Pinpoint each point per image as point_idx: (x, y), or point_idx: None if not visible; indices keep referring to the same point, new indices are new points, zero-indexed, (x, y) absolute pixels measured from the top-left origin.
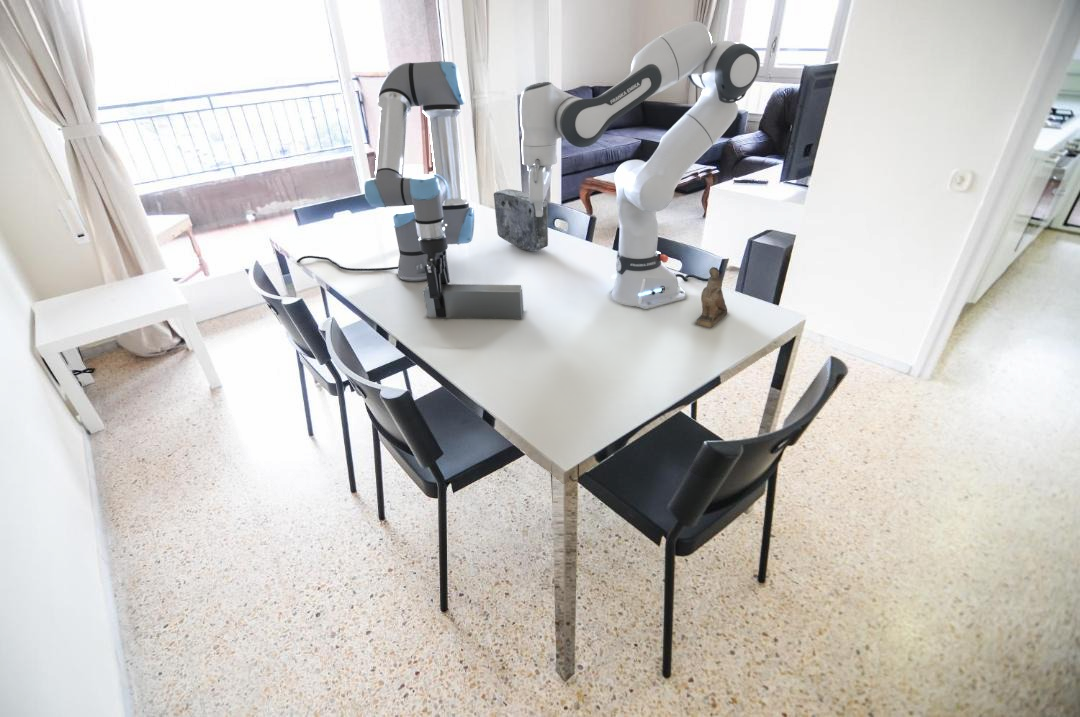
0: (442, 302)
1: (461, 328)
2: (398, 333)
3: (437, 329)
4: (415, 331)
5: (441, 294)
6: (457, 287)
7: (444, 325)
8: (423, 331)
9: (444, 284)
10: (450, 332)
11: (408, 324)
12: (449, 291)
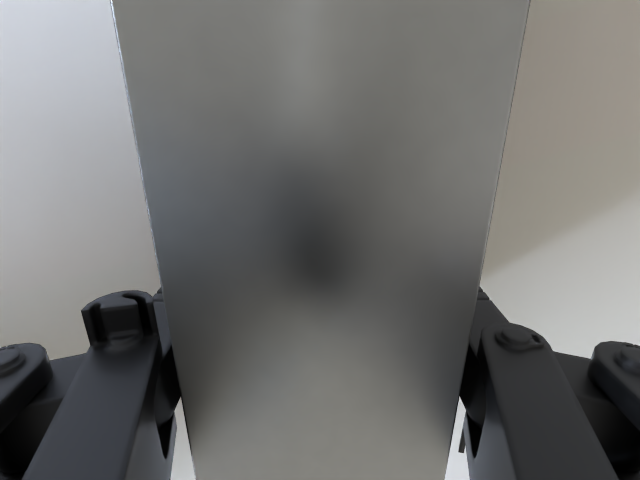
0: None
1: (585, 31)
2: None
3: (561, 227)
4: (561, 352)
5: (485, 345)
6: (308, 129)
7: (504, 193)
8: (572, 308)
9: (196, 396)
10: (636, 114)
11: (459, 410)
12: (481, 248)
